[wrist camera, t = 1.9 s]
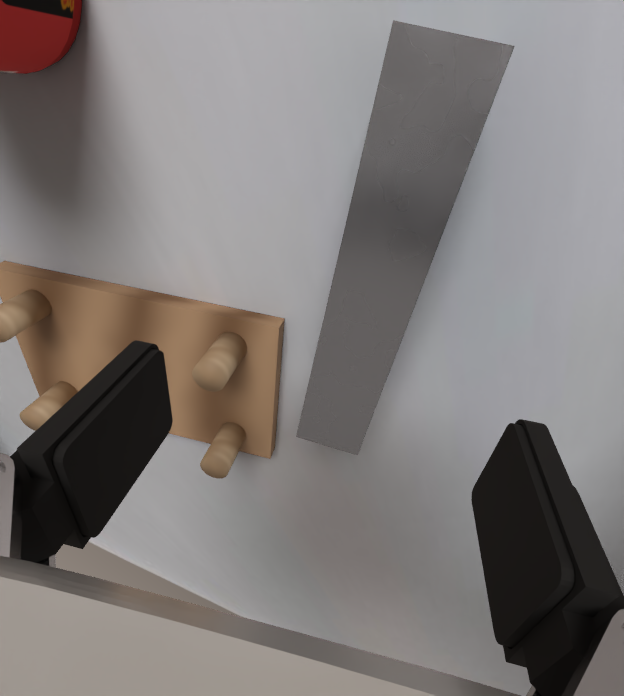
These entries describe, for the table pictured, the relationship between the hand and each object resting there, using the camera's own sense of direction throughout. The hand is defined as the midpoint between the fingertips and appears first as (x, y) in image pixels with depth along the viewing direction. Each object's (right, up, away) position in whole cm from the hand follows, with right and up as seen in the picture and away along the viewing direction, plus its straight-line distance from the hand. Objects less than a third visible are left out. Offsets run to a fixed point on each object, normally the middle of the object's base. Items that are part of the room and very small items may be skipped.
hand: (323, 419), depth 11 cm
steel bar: (+3, +7, +11) cm, 13 cm away
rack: (-12, +1, +18) cm, 22 cm away
